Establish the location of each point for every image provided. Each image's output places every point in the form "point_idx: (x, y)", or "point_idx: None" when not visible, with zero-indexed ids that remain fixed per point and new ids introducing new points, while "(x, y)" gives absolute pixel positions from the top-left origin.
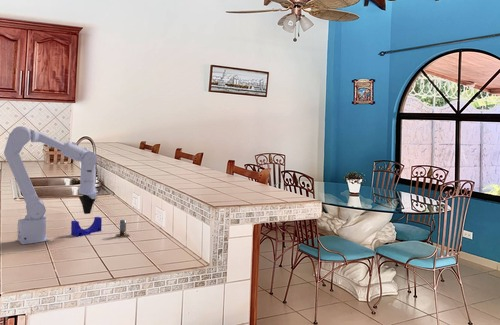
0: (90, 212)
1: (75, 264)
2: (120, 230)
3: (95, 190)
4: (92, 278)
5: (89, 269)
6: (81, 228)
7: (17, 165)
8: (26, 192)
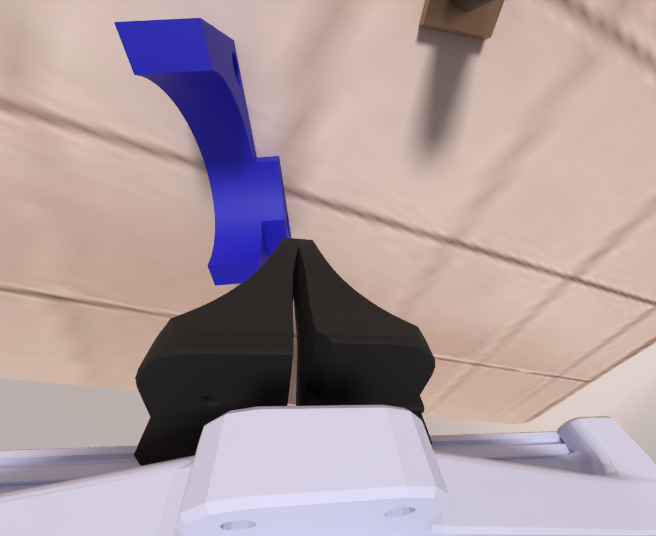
0: (314, 243)
1: (541, 339)
2: (490, 1)
3: (205, 532)
4: (637, 342)
5: (599, 330)
6: (264, 221)
7: None
8: None
